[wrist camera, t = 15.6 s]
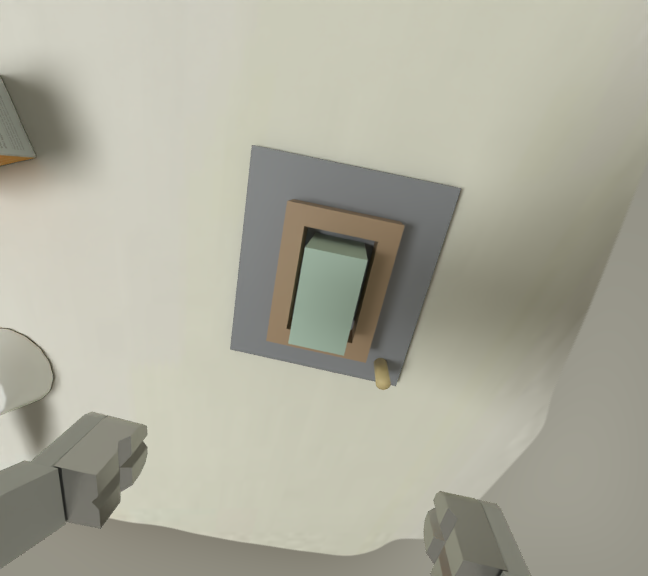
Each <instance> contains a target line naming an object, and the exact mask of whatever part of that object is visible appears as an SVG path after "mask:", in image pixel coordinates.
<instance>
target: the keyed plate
mask: <svg viewBox="0 0 648 576" xmlns="http://www.w3.org/2000/svg"><path fill="white" fill-rule="evenodd" d="M460 190H461V188H457V187H452V186H447V185H443V184H438V183H433V182H428V181H423V180H419V179H414V178H409V177H404V176H399V175H395V174H390V173H385V172H380V171H375V170H370V169H366V168H361V167H356V166H351V165H346V164H342V163H337V162H332V161H327V160H322V159H317V158H313V157H308V156H303V155H298V154H293V153H289V152H284V151H279V150H274V149H269V148H265V147H260V146H255V145H252V150H251V159H250V169H249V178H248V187H247V197H246V206H245V215H244V225H243V234H242V243H241V253H240V262H239V272H238V281H237V290H236V300H235V309H234V318H233V328H232V337H231V346H230V349H231V350H235V351H240V352H244V353H249V354H254V355H258V356H263V357H267V358H272V359H276V360H281V361H285V362H290V363H294V364H299V365H303V366H308V367H312V368H317V369H321V370H326V371H330V372H335V373H339V374H344V375H348V376H353V377H357V378H362V379H366V380H371V381H375V382H376V386H377V387H378V388H379V389H382V390H385V389H388V388H389V387H390V385H393V386H396V384H397V381H398V378H399V375H400V372H401V369H402V366H403V363H404V360H405V357H406V354H407V351H408V348H409V345H410V342H411V339H412V336H413V333H414V330H415V327H416V323H417V320H418V317H419V314H420V311H421V308H422V305H423V302H424V299H425V296H426V293H427V290H428V287H429V284H430V281H431V278H432V275H433V272H434V269H435V266H436V263H437V260H438V257H439V254H440V251H441V248H442V245H443V242H444V239H445V236H446V233H447V230H448V227H449V224H450V221H451V218H452V215H453V212H454V209H455V206H456V202H457V199H458V196H459V193H460ZM315 233H321V234H325V235H330V236H335V237H340V238H344V239H349V240H354V241H359V242H363V243H365V249H366V254H367V259H368V261H367V265H366V269H365V273H364V277H363V281H362V285H361V289H360V293H359V297H358V301H357V305H356V309H355V313H354V317H353V321H352V325H351V329H350V333H349V337H348V341H347V345H346V349H345V353H344V356H343V355H338V354H333V353H329V352H324V351H320V350H315V349H310V348H306V347H301V346H297V345H292V344H288V341H289V336H290V330H291V324H292V319H293V313H294V307H295V302H296V296H297V290H298V284H299V279H300V273H301V267H302V262H303V256H304V250H305V247H306V245H307V244H308V243H309V241H310V240H311V238H312V237H313V236H314V234H315Z"/></svg>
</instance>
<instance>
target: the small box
mask: <svg viewBox="0 0 648 576" xmlns="http://www.w3.org/2000/svg"><path fill="white" fill-rule="evenodd" d="M35 157H36V155H35V153H34V151H33V148H32V146H31V144H30V142H29V140H28V137H27V135H26V133H25V131H24V128H23V126H22V124H21V121H20V119H19V117H18V115H17V112H16V110H15V107H14V105H13V103H12V101H11V98H10V96H9V94H8V92H7V89H6V87H5V85H4V83H3V81H2V79H1V77H0V166H1V165H6V164H10V163H14V162H19V161H23V160H28V159H33V158H35Z"/></svg>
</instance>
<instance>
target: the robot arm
mask: <svg viewBox="0 0 648 576" xmlns="http://www.w3.org/2000/svg"><path fill="white" fill-rule="evenodd" d="M146 436H147V426H146V425H143V424H139V423H135V422H131V421H128V420H124V419H120V418H116V417H112V416H108V415H104V414H99V413H95V412H90V413H88V414H85V415H84V416H83V417H81V418H80V419H79V420H78V421H77V422H76V423H74V424H73V425H72V426H71V427H70V428H69V429H68V430H66V431H65V432H64V433H63V434H62V435H61V436H60V437H58V438H57V439H56V440H55V441H54V442H53V443H51V444H50V445H49V446H48V447H47V448H46V449H45V450H43V451H42V452H41V453H40V454H39V455H38V456H37V457H35V458H34V459H33V460H32V461H31V462H30V461H22V462H20V463H18V464H15V465H13V466H11V467H8V468H6V469H3V470H1V471H0V569H1V568H3V567H4V566H5V565H7V564H8V563H10V562H11V561H13V560H14V559H16V558H17V557H19V556H20V555H22V554H23V553H25V552H26V551H27V550H29V549H30V548H32V547H33V546H35V545H36V544H38V543H39V542H41V541H42V540H44V539H45V538H46V537H48V536H49V535H51V534H52V533H53V532H55V531H57V530H58V529H59V528H61V527H62V526H64V525H65V524H66V522H69V523H75V524H80V525H85V526H90V527H95V528H100V529H101V527H102V526H103V525H104V523H105V522H106V521H107V519H108V518H109V517H110V515H111V514H112V512H113V511H114V510H115V508H116V507H117V506H118V504H119V503H120V498H121V491H123V490H125V489H126V488H128V487H130V486H132V485H133V483H134V482H135V481H136V479H137V478H138V476H139V475H140V473H141V471H142V469H143V467H144V464H145V462H146V458H147V446H146V445H145V443H144V442H143V440H144V439H145V437H146ZM433 501H434V505H435V508H433V509H431V510H430V511H428V513H427V515H426V518H425V522H424V531H423V532H424V543H425V549H426V553H427V555H428V556H429V558H430V559H431V560H432V562H433V563H434V566H433V568H432V571H431V573H430V575H431V576H531V574H530V572H529V570H528V567H527V565H526V563H525V561H524V559H523V556H522V555H521V552H520V550H519V548H518V545H517V543H516V541H515V539H514V537H513V534H512V532H511V530H510V528H509V526H508V523H507V521H506V519H505V517H504V515H503V513H502V510H501V508H500V507H499V506H498V505H497V504H495V503H491V502H487V501H482V500H478V499H475V498H470V497H466V496H461V495H456V494H451V493H447V492H442V491H439V492H438V493H436V495H435V498H434V500H433Z"/></svg>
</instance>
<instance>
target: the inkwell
mask: <svg viewBox="0 0 648 576" xmlns="http://www.w3.org/2000/svg"><path fill="white" fill-rule="evenodd" d="M52 381H53V373H52V369H51V365H50V362H49V361H48V359H47V358H46V356H45V355H44V353H43V352H42V350H41V349H40V348H39V347H38V346H37V345H35V344H34V343H33V342H32V341H31V340H29V339H28V338H27V337H25V336H23V335H21V334H19V333H17V332H15V331H13V330H10V329H1V328H0V415H2V414H5V413H7V412H10V411H13V410H15V409H18V408H20V407H23V406H25V405H28V404H30V403H33V402H35V401H37V400H40V399H42V398H43V397H44V396H45V395H46V394H47V393H48V392H49V391H50V389H51V386H52Z"/></svg>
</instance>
